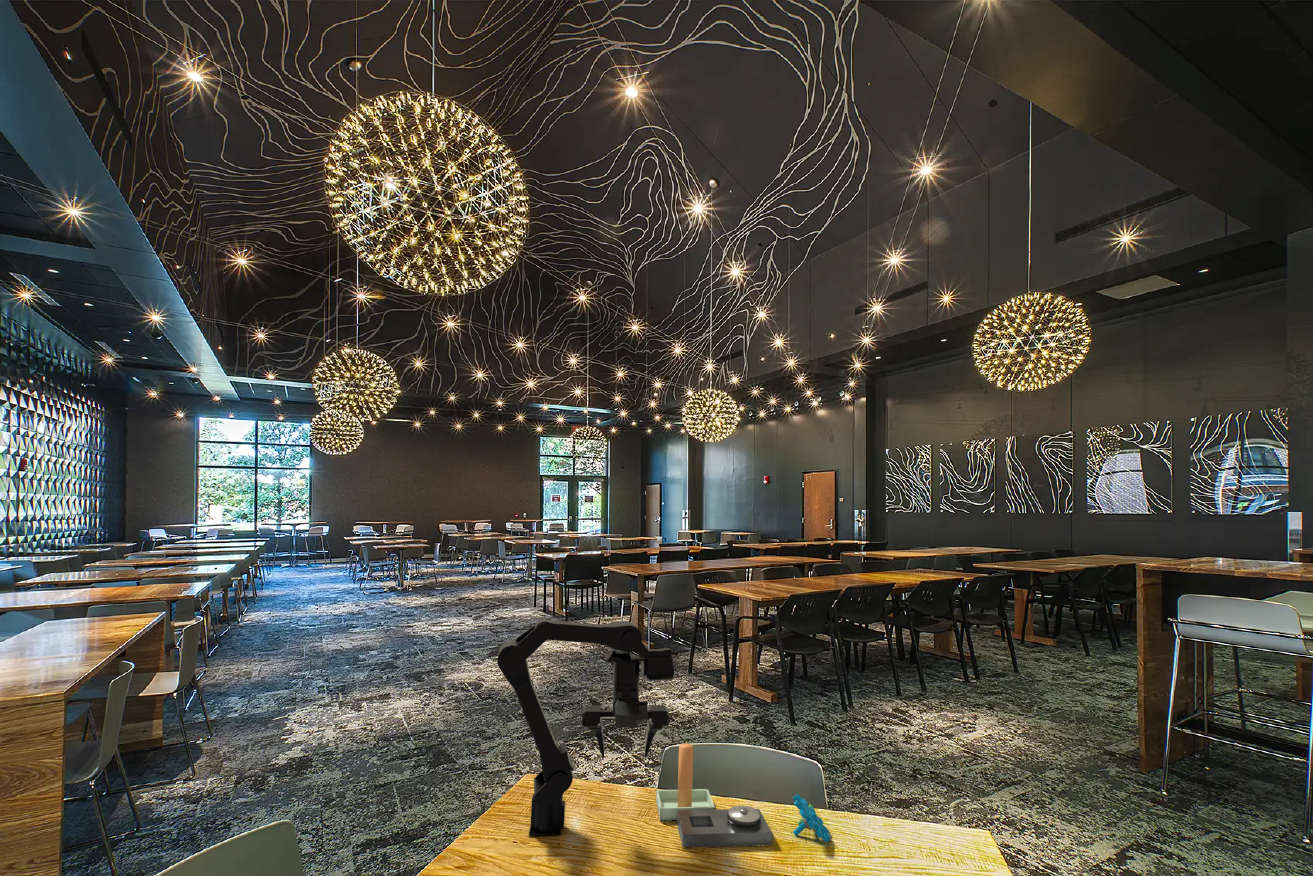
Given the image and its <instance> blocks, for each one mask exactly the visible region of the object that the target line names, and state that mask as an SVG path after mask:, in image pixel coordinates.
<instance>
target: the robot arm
mask: <svg viewBox="0 0 1313 876" xmlns="http://www.w3.org/2000/svg"><path fill="white" fill-rule="evenodd" d="M546 641H547V642H548V641H556V642H557V641H558V642H570V643H584V644H593V645H594V644H595V645H600V646H601V645H602V646H605V647H608V648H609V649H611V650H610V652H609V653H607V654H606V655H605V657H604V659H605V660H606V662H607V663H613V681H612V684H613V685H612V686H613V687H612V688H613V689H612V709H609V710H607V709H606V710H601V709H602V706H601V705H600V704H599V705H585V706H584V707H583V708H582V716H581V717H582V719H581V726H582V727H587V730H589V731H593V733H594V735H595V737H596V740H597V743H598V747H599V751H600V754H601V758H602V759H605V743H604V742H605V741H604V731H603V721H614V725H615V727H616V728H617V729H623V728H630V729H636V728H638V727H639V722H641V721H647V722H646V731H645V741H644V749H643V750H644V753H643V754H644V758H647V757H648V755H649V751H650V748H651V746H652V742H653V740H654V738H655V736H656V733H658V731H659V730H663V729H664V728H663V727H665V726H669V725H670V714H669V713H670V712H669V710H668V707H667V706H666V705H665V704H649V706H648V701H640V673H641V676H642V677H644V678H645V680H646V682H660V681H661V682H662V681H673V680H674V675H675V666H674V662H673V661H674V660H673V656H672V649H671V648H669V647H664V648H659V649H658V648H654V649H652V648H651V649H650V648H648V647H647V645H646V644H644V643H643V635H642V631H641V630H640V629H639V628H638V627H637V626H636V625H635V624H634V623H633V622H631V621H628V620H625V621H623V620H622V621H615V622H608V623H602V624H598V623H597V624H595V623H581V622H571V621H570V622H569V621H560V620H549V619H547V618H542V619H540V620H538V621H536V623H535V624H534V625H533V626H531V627H530V628H529V629H527V630H526V631H524V632H523V633H522V634H520V635H519V636H517V637H516V638H515V639H510V640H507V641H506V642H504V643H502V645H501V646H500V647H499V650H498V653H497V654H498V655H497V660H496V661H497V666H498V668H499V670H500V672H501V673H502V675H503V676H504V678H505V680H506V681H507V682H508V683H509V685H510V686H511V687H512V689H513V691H514V692H515V694H516V697H517V700H518V703H519V705H520V707H521V709H522V712H523V714H524V715H523V716H524V717H525V720H526V722H527V725H528V727H529V729H530V733H531V735H532V738H533V740H534V743H535V745H536V747H537V750H538V753H539V759H540V765H541V771H540V772H539V773H538V774H537V775H536V776H535V777H533V794H532V797H531V804H530V805H531V806H530V807H531V808H530V809H531V810H530V827H529V830H528V836H530V837H533V836H534V837H535V836H536V837H537V836H538V837H539V836H560V835H562V828H563V829H564V827H565V821H566V819H565V818H566V801H565V800H563V799H564V793H565V792H567V791H568V790H569V789H570V787H571V786H572V783H573V781H574V779H573V772H574V771H575V768H574V762H573V757H572V756H571V755H570V754H569V751H568V749H567V748H568V747H567V744H566V742H565V741H564V742H562V743H561V744H559V743H558V741H557V740H556V739H555V737H554V734H553V732H552V730H551V729H552V728H551V726H550V724H549V721H548V719H547V716H546V714H545V712H544V708H543V707H542V706H543V705H542V704H541V701H540V698H539V696H538V693H537V691H536V689H535V686H534V684H533V681H532V678H531V673H530V669H529V668H530V667H529V662H528V661H529V660H528V658H530V656H532V655H533V654H534V653H535V652H536V651H537V650H539V648H540V647H541V646H542V645H543V644H544V643H546ZM615 650H617V652H616V651H615ZM618 651H619V652H618ZM620 651H621V652H620ZM631 653H634V654H636V655H631ZM648 707H649V708H648Z"/></svg>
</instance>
